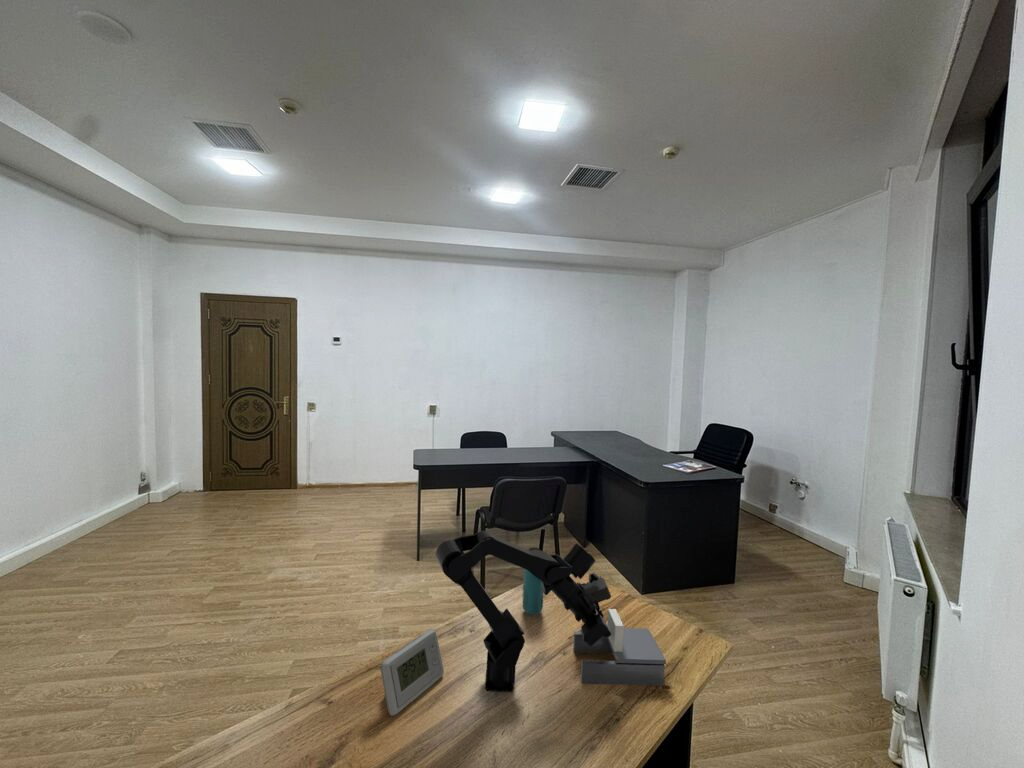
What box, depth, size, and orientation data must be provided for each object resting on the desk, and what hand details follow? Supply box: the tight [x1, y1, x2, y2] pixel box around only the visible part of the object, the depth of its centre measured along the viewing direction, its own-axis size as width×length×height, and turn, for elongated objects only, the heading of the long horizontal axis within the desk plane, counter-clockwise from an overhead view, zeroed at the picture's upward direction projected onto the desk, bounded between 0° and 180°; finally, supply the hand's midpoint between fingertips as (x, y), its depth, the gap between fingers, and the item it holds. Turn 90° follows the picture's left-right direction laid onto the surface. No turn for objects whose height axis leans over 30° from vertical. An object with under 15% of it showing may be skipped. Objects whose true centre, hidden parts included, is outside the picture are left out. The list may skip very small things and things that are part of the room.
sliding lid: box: [606, 608, 667, 665], centre depth 105 cm, size 12×12×8 cm
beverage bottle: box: [521, 547, 545, 615], centre depth 126 cm, size 6×7×20 cm
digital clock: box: [380, 628, 445, 717], centre depth 94 cm, size 16×9×11 cm, turn 134°
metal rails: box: [572, 630, 666, 687], centre depth 105 cm, size 20×12×5 cm, turn 91°
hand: (609, 634), depth 105 cm, fingers closed, pressing on sliding lid
